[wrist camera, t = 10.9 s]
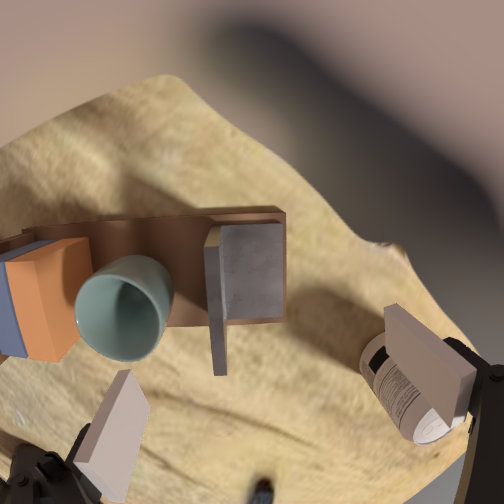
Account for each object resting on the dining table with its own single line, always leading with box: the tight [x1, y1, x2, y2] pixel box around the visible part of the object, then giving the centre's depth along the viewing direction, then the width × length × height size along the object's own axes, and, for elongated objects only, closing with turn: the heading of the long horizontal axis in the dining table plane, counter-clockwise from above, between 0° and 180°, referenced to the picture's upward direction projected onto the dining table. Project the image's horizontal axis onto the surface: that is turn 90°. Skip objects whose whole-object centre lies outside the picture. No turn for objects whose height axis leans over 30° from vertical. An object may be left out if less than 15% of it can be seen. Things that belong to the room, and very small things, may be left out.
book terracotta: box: [5, 237, 93, 363], centre depth 26 cm, size 4×9×11 cm, turn 1°
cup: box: [74, 254, 175, 362], centre depth 27 cm, size 8×8×10 cm
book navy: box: [0, 239, 60, 358], centre depth 26 cm, size 4×9×11 cm, turn 1°
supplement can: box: [359, 332, 455, 446], centre depth 30 cm, size 8×8×15 cm
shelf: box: [0, 212, 286, 365], centre depth 26 cm, size 31×12×13 cm, turn 91°
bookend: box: [204, 223, 283, 376], centre depth 27 cm, size 7×10×11 cm
